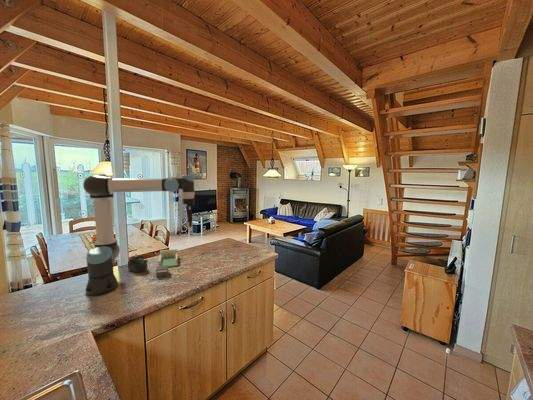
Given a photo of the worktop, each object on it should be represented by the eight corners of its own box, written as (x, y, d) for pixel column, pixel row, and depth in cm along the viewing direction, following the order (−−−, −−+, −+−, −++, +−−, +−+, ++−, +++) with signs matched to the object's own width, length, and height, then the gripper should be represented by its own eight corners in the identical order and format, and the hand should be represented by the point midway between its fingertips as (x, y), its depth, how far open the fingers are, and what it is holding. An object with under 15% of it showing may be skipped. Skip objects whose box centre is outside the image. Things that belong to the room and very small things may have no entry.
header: (178, 266, 166) (177, 257, 166) (157, 268, 162) (157, 259, 161) (177, 256, 185) (177, 248, 184) (159, 258, 180) (159, 250, 179)
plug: (156, 277, 149) (156, 270, 148) (157, 273, 154) (156, 266, 154) (168, 275, 151) (168, 268, 151) (168, 272, 157) (168, 265, 156)
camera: (151, 267, 164) (150, 253, 163) (142, 273, 154) (141, 258, 153) (133, 266, 166) (132, 253, 164) (124, 272, 156) (122, 258, 155)
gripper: (196, 199, 147) (197, 232, 150) (193, 196, 170) (194, 224, 173) (183, 200, 144) (184, 233, 147) (182, 196, 168) (183, 225, 170)
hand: (189, 229), depth 160 cm, fingers open, 13 cm apart
